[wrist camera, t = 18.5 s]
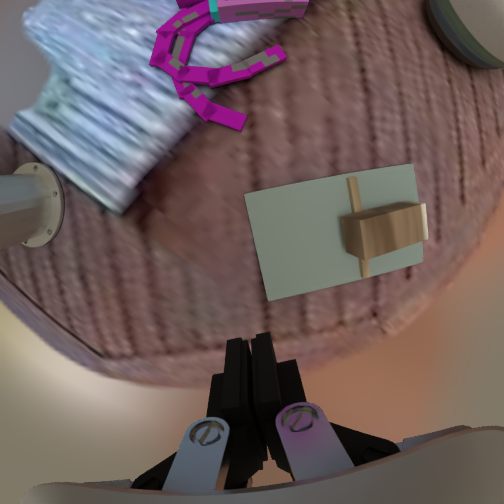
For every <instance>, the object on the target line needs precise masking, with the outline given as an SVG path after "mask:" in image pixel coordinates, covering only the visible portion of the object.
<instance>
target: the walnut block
mask: <svg viewBox="0 0 504 504" xmlns="http://www.w3.org/2000/svg"><path fill="white" fill-rule="evenodd" d="M340 217H341V223H342V229H343V236H344V242H345V249H346V253H349V254H351V255H353V256H355V257H358V258H360V259H362V260H364V261H366V260H369V259H372V258H375V257H378V256H381V255H384V254H387V253H389V252H392V251H395V250H398V249H401V248H404V247H407V246H410V245H413V244H415V243H418V242H421V241H424V240H427V239H428V227H427V216H426V206H425V203H418V202H410V201H400V202H396V203H392V204H388V205H384V206H380V207H376V208H372V209H368V210H364V211H360V212H356V213H352V214H348V215H344V216H340Z"/></svg>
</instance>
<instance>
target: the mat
mask: <svg viewBox="0 0 504 504" xmlns="http://www.w3.org/2000/svg"><path fill="white" fill-rule="evenodd" d="M348 177H357V181H358V187H359V193H360V199H361V205H362V211H364V210H368V209H372V208H376V207H380V206H384V205H388V204H392V203H396V202H400V201H410V202H418V203H419V201H418V193H417V185H416V178H415V172H414V166H413V163H411V164H403V165H397V166H390V167H383V168H377V169H370V170H364V171H358V172H352V173H347V174H341V175H335V176H330V177H324V178H319V179H314V180H308V181H303V182H298V183H293V184H288V185H283V186H278V187H274V188H269V189H264V190H260V191H255V192H251V193H246V194H244V197H245V201H246V206H247V210H248V215H249V219H250V223H251V228H252V232H253V237H254V241H255V245H256V250H257V254H258V259H259V263H260V268H261V272H262V277H263V281H264V285H265V290H266V294H267V299H268V301H272V300H276V299H281V298H285V297H290V296H294V295H298V294H303V293H307V292H311V291H315V290H320V289H324V288H328V287H332V286H336V285H340V284H344V283H348V282H352V281H356V280H360V279H363V278H362V277H361V276H360V268H359V259H358V257H355V256H353V255H351V254H349V253H346V249H345V242H344V236H343V229H342V223H341V217H340V216H344V215H348V214H352V209H351V203H350V197H349V191H348V186H347V180H346V178H348ZM421 262H423V245H422V241H421V242H418V243H415V244H413V245H410V246H407V247H404V248H401V249H398V250H395V251H392V252H389V253H387V254H384V255H381V256H378V257H375V258H372V259H369V268H370V277H371V276H375V275H379V274H382V273H386V272H390V271H393V270H397V269H400V268H404V267H407V266H411V265H414V264H418V263H421Z"/></svg>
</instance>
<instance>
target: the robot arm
mask: <svg viewBox="0 0 504 504" xmlns="http://www.w3.org/2000/svg"><path fill="white" fill-rule="evenodd" d="M63 213H64V197H63V192H62V188H61V185H60V182H59V180H58V178H57V176H56V175H55V173H54V172H53V171H52V170H51V169H50V168H49V167H48V166H46V165H44V164H42V163H38V162H30V163H26V164H23V165H22V166H20V167H19V168H18V169H17V170H15V172H14V173H13V174H9V175H0V251H1V250H4V249H6V248H9V247H11V246H14V245H16V244H19V243H22V244H23V245H25V246H28V247H34V248H35V247H40V246H43V245H45V244H47V243H48V242H50V241H51V240H52V239H53V238H54V237H55V235H56V234H57V232H58V230H59V228H60V225H61V223H62V219H63ZM251 349H252V355H251V351H250V347H249V344H248V341H247V340H244V341H242V338H235V339H230V340H227V346H226V356H225V366H224V373H220V374H214V375H213V376H212V381H211V388H210V395H209V402H208V409H207V416H206V418H203V419H200V420H197V421H196V422H194V423H192V424H191V425H190V426H189V427H188V429H187V430H186V432H185V434H184V437H183V439H182V442H181V444H180V447H179V449H178V451H177V452H175V453H174V454H173V455H171V456H169V457H168V458H166V459H165V460H163V461H162V462H160V463H159V464H157V465H156V466H154V467H153V468H151V469H150V470H148V471H146V472H145V473H144V474H142V475H140V476H139V477H138V478H137V479H135V481H134V482H132V481H131V480H130V479H125V480H114V481H102V482H85V483H73V482H53V483H46V484H40V485H37V486H34V487H32V488H31V489H29V490H28V491H27V492H26V493H25V494H24V495H23V496H22V498H21V499H20V501H19V502H18V504H504V427H502V426H482V427H477V428H471V427H469V426H464V425H461V426H455V427H451V428H447V429H444V430H440V431H436V432H432V433H428V434H424V435H419V436H415V437H410V438H405V439H403V442H400V443H393V442H391V441H389V440H386V439H382V438H379V437H375V436H371V435H368V434H365V433H362V432H359V431H355V430H352V429H349V428H346V427H343V426H340V425H337V424H334V423H331V422H329V421H328V419H327V417H326V416H325V414H324V412H323V410H322V409H321V408H320V407H319V406H317V405H315V404H313V403H309V402H307V401H306V397H305V393H304V389H303V386H302V381H301V378H300V374H299V370H298V366H297V362H296V359H293V360H289V361H284V362H280V363H277V361H276V357H275V352H274V348H273V344H272V339H271V335H270V332H265V333H261V334H256V338H254V339H251ZM267 446H268V449H269V452H270V455H271V458H272V460H275V461H276V464H277V467H279V468H280V469H282V470H284V471H286V472H288V473H290V475H291V479H292V481H293V482H288V483H281V484H275V485H269V486H260V487H252V484H253V480H252V475H254V474H255V473H256V472H257V471H258V470H263V461H267V460H268V454H267Z"/></svg>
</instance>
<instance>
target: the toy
mask: <svg viewBox="0 0 504 504" xmlns="http://www.w3.org/2000/svg"><path fill="white" fill-rule="evenodd" d="M176 1H177V4H178V6H179V8H183V9H182V10H180V11H179V12H178V13H177V14H175V15H174V16H173V17H172V18H171V19H169V20H168V21H167V22H166V23H165V24H164V25H162V26H161V27H160V28H159V29H158V30H157V31H156V33H157V34H158V35H157V38H156V42H155V45H154V48H153V52H152V55H151V59H150V63H149V65H150V66H151V67H160V68H161V69H162V70H164V71H165V72H166V73H168V74H169V75H170V76H171V77H172V79H173V82H174V85H175V87H176V90H177V93H178V96H179V98H180V99H185V100H186V101H187V102H188V103H189V104H190V105H191V107H192V108H193V109H194V110H195V111H196V112H197V113H198V114H199V115H200V116H201V117H202V118H203V120H204V121H205V122H208V121H209V120H210V121H213V122H216V123H218V124H221V125H224V126H227V127H229V128H232V129H235V130H237V131H240V132H241V130H242V128H243V126H244V123H245V121H246V119H247V115H244V114H242V113H239V112H236V111H234V110H231V109H228V108H225V107H222V106H220V105H217V104H214V103H211V102H210V101H209V100H208V99H207V98H206V97H205V96H204V95H203V94H202V93H201V91H200V90H199V89H198V88H197V87H196V86H195V85H194V84H204V85H210V87H211V88H213V87H217V86H221V85H224V84H228V83H232V82H236V81H240V80H244V79H248V78H252V76H253V75H255V74H257V73H259V72H261V71H263V70H265V69H267V68H270V67H272V66H274V65H276V64H278V63H280V62H283V61H285V60H286V59H287V56H286V55H285V53H284V52H283V51H282V49H281V48H280V46H279V45H277V46H275V47H272V48H270V49H268V50H265V51H263V52H261V53H259V54H257V55H254V56H252V57H250V58H248V59H246V60H244V61H242V62H241V63H237V64H233V65H229V66H225V67H221V68H208V67H197V66H186V65H187V62H188V59H189V55H190V52H191V49H192V46H193V43H194V40H195V37H196V35H197V34H198V33H200V32H201V31H202V30H203V29H204V28H205V27H206V26H208V25H209V24H210V23H211V24H213V23H215V22H220V23H221V24H222V23H230V22H238V21H247V20H259V19H274V18H303V15H304V13H305V10H306V8H307V5H308V3H309V0H176ZM190 6H193V7H191V8H189V9H187V8H185V7H190ZM176 34H177V35H178V38H177V41H176V44H175V47H174V50H173V53H172V55H170V51H171V47H172V44H173V40H174V37H175V35H176Z"/></svg>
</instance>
